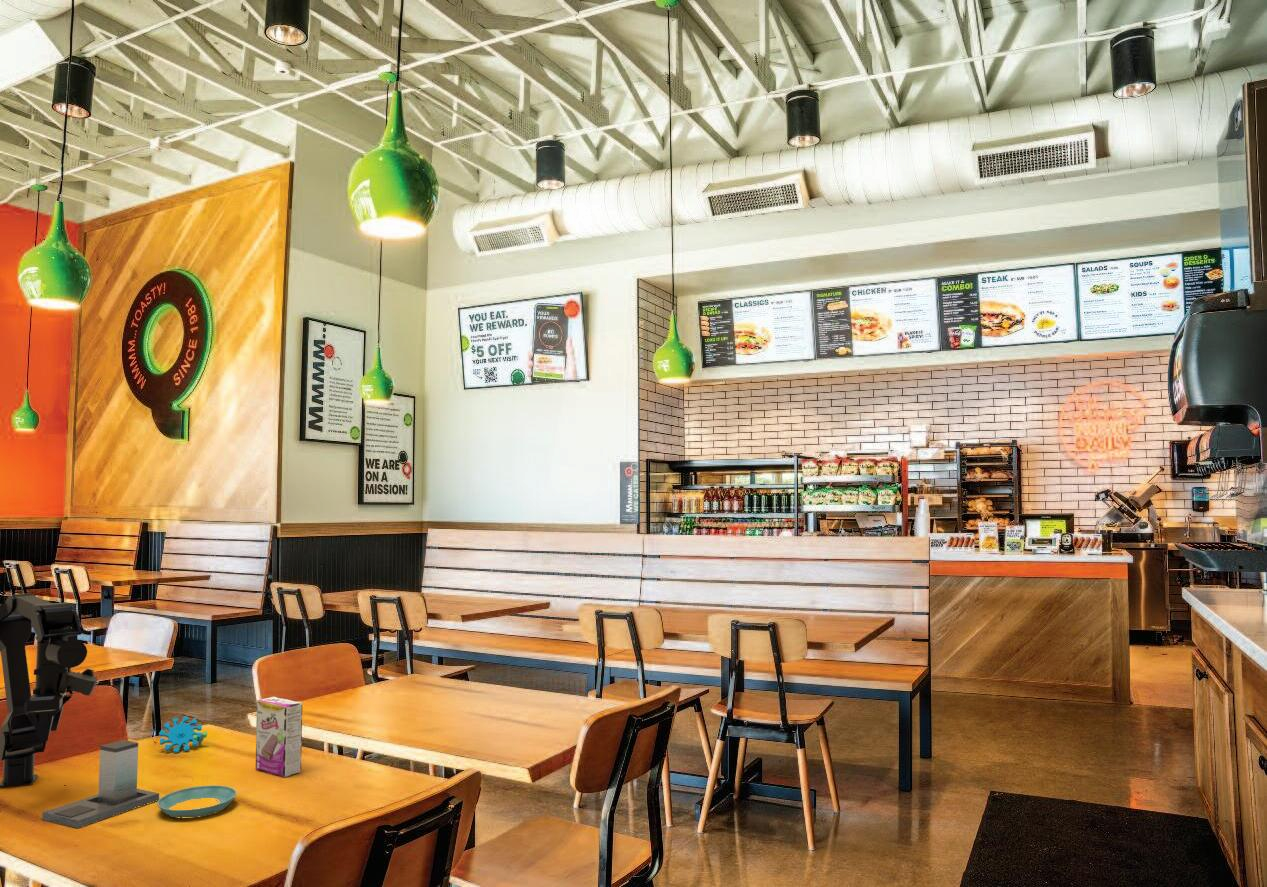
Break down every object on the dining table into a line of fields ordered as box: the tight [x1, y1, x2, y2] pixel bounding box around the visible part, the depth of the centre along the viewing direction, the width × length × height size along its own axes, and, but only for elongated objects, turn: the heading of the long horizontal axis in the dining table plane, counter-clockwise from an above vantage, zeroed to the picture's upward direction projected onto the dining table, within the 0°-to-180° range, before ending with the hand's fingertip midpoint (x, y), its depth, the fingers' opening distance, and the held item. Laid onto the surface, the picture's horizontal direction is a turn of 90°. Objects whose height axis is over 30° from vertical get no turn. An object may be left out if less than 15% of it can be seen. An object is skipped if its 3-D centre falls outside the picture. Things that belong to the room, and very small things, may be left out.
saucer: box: [156, 785, 238, 818], centre depth 183 cm, size 15×15×3 cm
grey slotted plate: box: [41, 788, 160, 829], centre depth 182 cm, size 11×18×2 cm, turn 155°
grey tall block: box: [97, 739, 139, 806], centre depth 186 cm, size 5×5×12 cm
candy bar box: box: [255, 696, 303, 778], centre depth 208 cm, size 11×5×16 cm, turn 58°
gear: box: [158, 715, 208, 754], centre depth 227 cm, size 11×6×10 cm
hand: (49, 735), depth 190 cm, fingers open, 9 cm apart
